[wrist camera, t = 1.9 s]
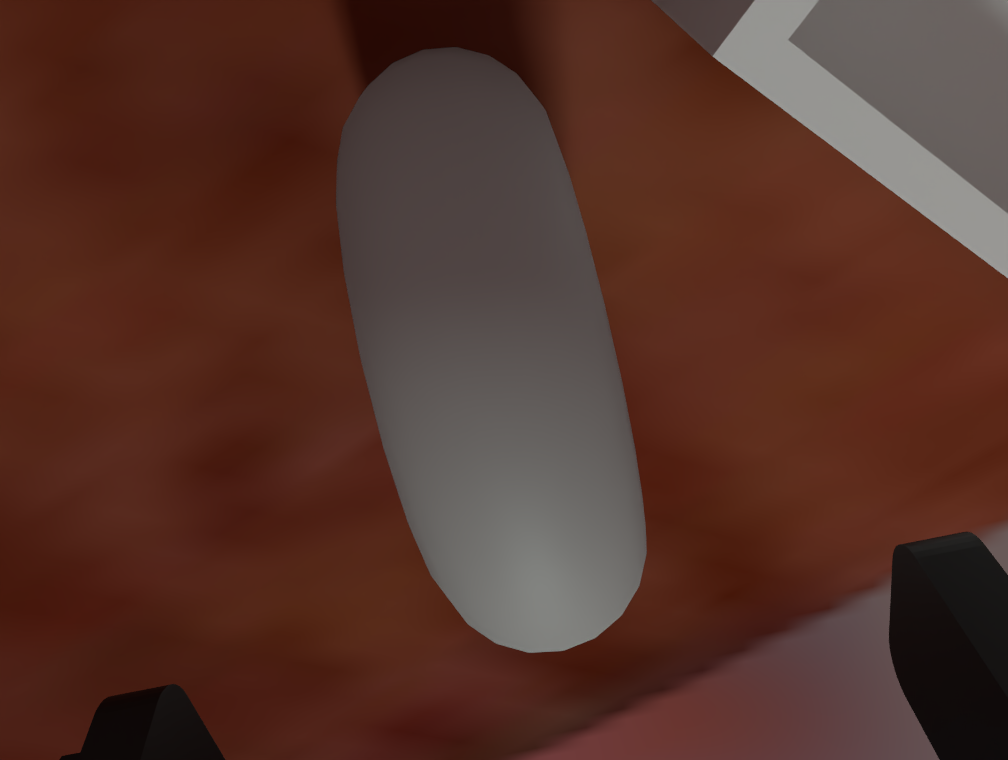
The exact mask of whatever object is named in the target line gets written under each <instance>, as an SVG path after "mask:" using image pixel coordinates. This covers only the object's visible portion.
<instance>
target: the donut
mask: <svg viewBox="0 0 1008 760" xmlns="http://www.w3.org/2000/svg"><path fill="white" fill-rule="evenodd" d="M336 207H337V216H338V225H339V233H340V242H341V251H342V260H343V268H344V275H345V280H346V285H347V291H348V296H349V301H350V306H351V311H352V316H353V322H354V327H355V332H356V337H357V342H358V347H359V353H360V358H361V362H362V366H363V370H364V374H365V378H366V381H367V385H368V389H369V393H370V397H371V401H372V405H373V409H374V413H375V416H376V420H377V424H378V428H379V432H380V436H381V440H382V444H383V448H384V451H385V454H386V457H387V460H388V463H389V466H390V469H391V472H392V475H393V478H394V481H395V484H396V487H397V491H398V494H399V497H400V500H401V503H402V506H403V509H404V512H405V515H406V518H407V521H408V524H409V526H410V529H411V531H412V533H413V536H414V538H415V540H416V542H417V545H418V547H419V549H420V551H421V554H422V556H423V558H424V561H425V563H426V565H427V567H428V570H429V572H430V574H431V576H432V577H433V579H434V580H435V581H436V583H437V584H438V585H439V587H440V588H441V589H442V591H443V592H444V593H445V595H446V596H447V597H448V599H449V600H450V601H451V603H452V604H453V605H454V607H455V608H456V609H457V610H458V612H459V613H460V614H461V616H462V617H463V618H464V620H465V621H466V622H467V624H468V625H470V626H471V627H473V628H474V629H476V630H477V631H479V632H480V633H481V634H483V635H484V636H486V637H487V638H489V639H490V640H492V641H493V642H495V643H496V644H500V645H503V646H507V647H511V648H514V649H518V650H521V651H525V652H528V653H532V652H550V651H564V650H566V649H569V648H571V647H574V646H576V645H579V644H581V643H584V642H586V641H589V640H591V639H594V638H596V637H597V636H598V635H599V634H600V633H602V632H603V631H604V630H605V629H606V628H607V627H609V626H610V625H611V624H612V623H613V622H614V621H616V620H617V619H618V618H619V617H620V616H621V615H622V614H623V612H624V610H625V609H626V607H627V605H628V604H629V602H630V600H631V599H632V597H633V595H634V594H635V592H636V590H637V589H638V587H639V585H640V580H641V576H642V571H643V567H644V562H645V558H646V553H647V551H646V528H645V518H644V508H643V499H642V491H641V485H640V478H639V471H638V465H637V458H636V452H635V446H634V440H633V435H632V430H631V425H630V420H629V415H628V410H627V405H626V400H625V395H624V389H623V384H622V379H621V375H620V371H619V366H618V362H617V357H616V353H615V349H614V344H613V340H612V335H611V331H610V327H609V322H608V318H607V313H606V309H605V305H604V301H603V297H602V293H601V289H600V285H599V281H598V277H597V273H596V269H595V265H594V261H593V258H592V254H591V250H590V246H589V242H588V238H587V234H586V230H585V227H584V224H583V220H582V217H581V213H580V210H579V207H578V203H577V200H576V196H575V193H574V189H573V186H572V183H571V179H570V176H569V173H568V170H567V168H566V165H565V162H564V159H563V156H562V154H561V151H560V148H559V145H558V143H557V140H556V137H555V134H554V132H553V129H552V126H551V124H550V121H549V118H548V115H547V113H546V110H545V109H544V107H543V106H542V105H541V103H540V102H539V101H538V99H537V98H536V97H535V96H534V94H533V93H532V92H531V91H530V89H529V88H528V87H527V86H526V84H525V83H524V82H523V81H522V79H521V78H520V77H519V76H518V74H517V73H515V72H514V71H512V70H511V69H509V68H507V67H506V66H504V65H503V64H501V63H500V62H498V61H497V60H495V59H494V58H492V57H491V56H489V55H486V54H482V53H478V52H474V51H470V50H466V49H462V48H458V47H449V48H437V49H424V50H421V51H419V52H416V53H414V54H412V55H410V56H407V57H405V58H403V59H400V60H398V61H396V62H394V63H392V64H391V65H390V66H389V67H388V68H387V69H385V70H384V71H383V72H382V73H381V74H380V75H379V76H378V77H377V78H376V79H375V80H373V81H372V82H371V83H370V84H369V85H368V86H367V88H366V89H365V90H364V92H363V93H362V94H361V96H360V97H359V99H358V101H357V103H356V104H355V106H354V108H353V110H352V112H351V114H350V116H349V117H348V119H347V121H346V123H345V125H344V127H343V130H342V136H341V142H340V148H339V154H338V160H337V187H336Z"/></svg>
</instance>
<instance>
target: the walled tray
mask: <svg viewBox="0 0 1008 760" xmlns="http://www.w3.org/2000/svg"><path fill="white" fill-rule="evenodd" d="M652 1H653V2H654V3H655V4H656V5H657V6H658V7H659V8H660V9H662V10H663V11H664V12H665V13H666V14H667V15H668V16H669V17H670V18H671V19H672V20H674V21H675V22H676V23H677V24H678V25H679V26H680V27H681V28H682V29H683V30H684V31H686V32H687V33H688V34H689V35H690V36H691V37H692V38H693V39H694V40H695V41H696V42H697V43H699V44H700V45H701V46H702V47H703V48H704V49H705V50H706V51H707V52H708V53H709V54H711V55H712V56H713V57H714V58H715V59H717V60H718V61H719V62H721V63H722V64H723V65H725V66H726V67H727V68H729V69H730V70H731V71H733V72H734V73H735V74H737V75H738V76H739V77H741V78H742V79H743V80H745V81H746V82H747V83H749V84H750V85H751V86H753V87H754V88H755V89H757V90H758V91H759V92H761V93H762V94H763V95H765V96H766V97H767V98H769V99H770V100H771V101H773V102H774V103H775V104H777V105H778V106H779V107H781V108H782V109H783V110H785V111H786V112H787V113H789V114H790V115H791V116H793V117H794V118H795V119H797V120H798V121H799V122H801V123H802V124H803V125H805V126H806V127H807V128H809V129H810V130H811V131H813V132H814V133H815V134H817V135H818V136H819V137H821V138H822V139H823V140H825V141H826V142H827V143H829V144H830V145H831V146H833V147H834V148H835V149H837V150H838V151H839V152H841V153H842V154H843V155H845V156H846V157H847V158H849V159H850V160H851V161H853V162H854V163H855V164H857V165H858V166H859V167H861V168H862V169H863V170H865V171H866V172H867V173H869V174H870V175H871V176H873V177H874V178H875V179H877V180H878V181H879V182H881V183H882V184H883V185H885V186H886V187H887V188H889V189H890V190H891V191H893V192H894V193H895V194H896V195H898V196H899V197H900V198H902V199H903V200H904V201H906V202H907V203H908V204H910V205H911V206H912V207H914V208H915V209H916V210H918V211H919V212H920V213H922V214H923V215H924V216H926V217H927V218H928V219H930V220H931V221H932V222H934V223H935V224H936V225H938V226H939V227H940V228H942V229H943V230H944V231H946V232H947V233H948V234H950V235H951V236H952V237H954V238H955V239H956V240H958V241H959V242H960V243H962V244H963V245H964V246H966V247H967V248H968V249H970V250H971V251H972V252H974V253H975V254H976V255H978V256H979V257H980V258H982V259H983V260H984V261H986V262H987V263H988V264H990V265H991V266H992V267H994V268H995V269H996V270H998V271H999V272H1000V273H1002V274H1003V275H1004V276H1006V277H1007V278H1008V0H652Z"/></svg>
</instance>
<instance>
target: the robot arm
mask: <svg viewBox="0 0 1008 760" xmlns="http://www.w3.org/2000/svg"><path fill="white" fill-rule="evenodd" d="M889 644H890V652H891V657H892V661H893V665H894V668H895V672H896V675H897V678H898V680H899V683H900V686H901V688H902V690H903V692H904V695H905V697H906V698H907V700H908V702H909V704H910V706H911V708H912V710H913V711H914V713H915V715H916V717H917V719H918V721H919V723H920V724H921V726H922V728H923V730H924V732H925V734H926V735H927V737H928V739H929V741H930V742H931V744H932V746H933V748H934V750H935V752H936V754H937V756H938V758H939V759H940V760H1008V575H1007V574H1006V572H1005V571H1004V570H1003V568H1002V567H1001V566H1000V564H999V563H998V562H997V560H996V559H995V558H994V556H993V555H992V554H991V553H990V551H989V550H988V549H987V547H986V546H985V545H984V544H983V542H982V541H981V540H980V539H979V538H978V537H977V536H976V535H974V534H972V533H970V532H962V533H957V534H952V535H947V536H941V537H936V538H931V539H926V540H921V541H916V542H911V543H906V544H901V545H898V546H896V548H895V549H894V553H893V561H892V582H891V604H890V625H889ZM60 760H225V758H224V757H223V755H222V753H221V752H220V750H219V748H218V747H217V745H216V743H215V742H214V740H213V738H212V737H211V735H210V733H209V732H208V730H207V728H206V726H205V725H204V723H203V721H202V720H201V718H200V716H199V715H198V713H197V711H196V710H195V708H194V706H193V705H192V703H191V701H190V700H189V698H188V696H187V695H186V693H185V692H184V690H183V689H182V688H181V687H180V686H178V685H175V684H171V685H166V686H161V687H156V688H151V689H146V690H141V691H136V692H130V693H125V694H120V695H115V696H111V697H108V698H106V699H104V700H103V701H102V702H101V704H100V705H99V707H98V708H97V710H96V712H95V715H94V717H93V720H92V723H91V726H90V728H89V731H88V734H87V736H86V739H85V742H84V745H83V747H82V750H81V753H76V754H71V755H65V756H62V757H61V758H60Z"/></svg>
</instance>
